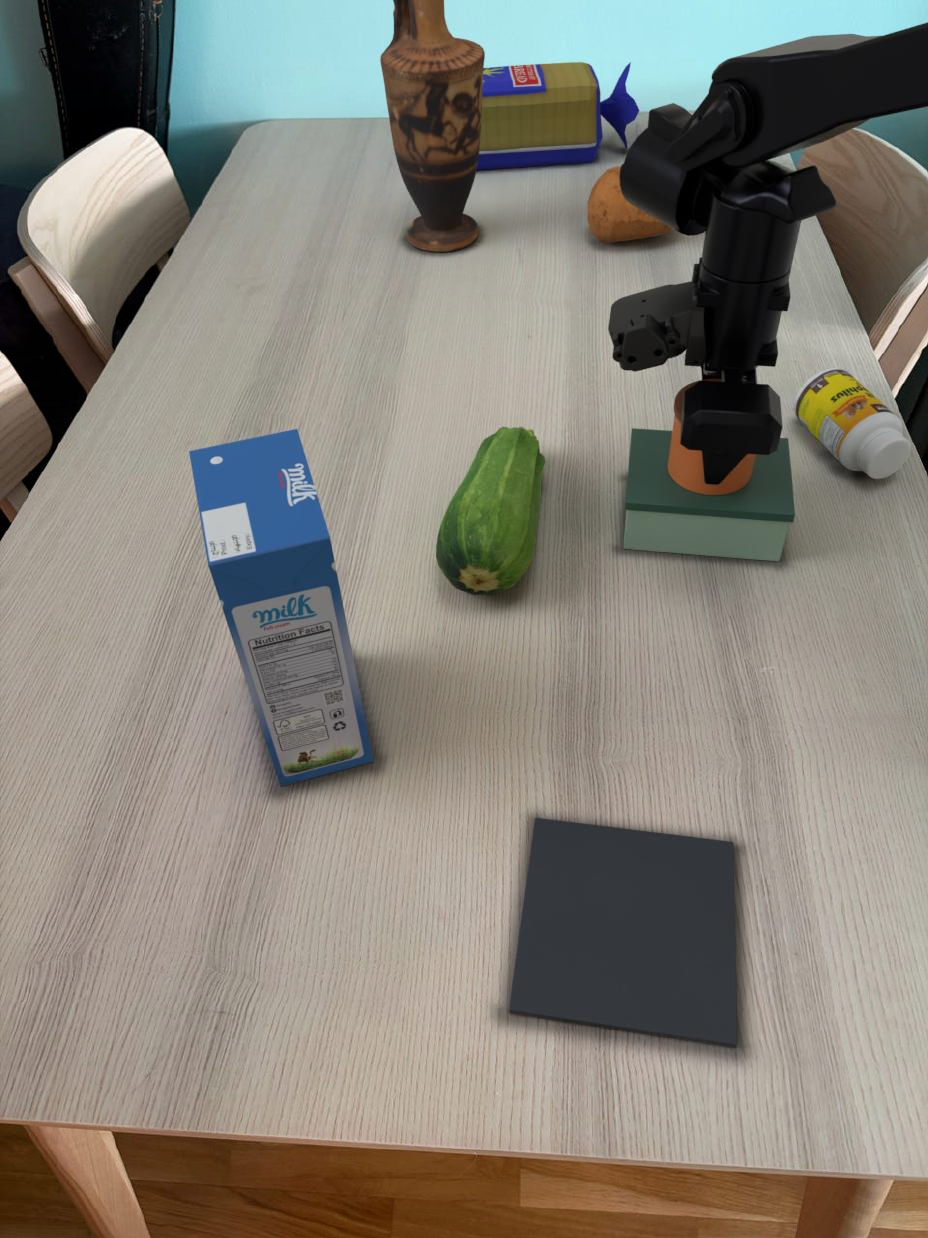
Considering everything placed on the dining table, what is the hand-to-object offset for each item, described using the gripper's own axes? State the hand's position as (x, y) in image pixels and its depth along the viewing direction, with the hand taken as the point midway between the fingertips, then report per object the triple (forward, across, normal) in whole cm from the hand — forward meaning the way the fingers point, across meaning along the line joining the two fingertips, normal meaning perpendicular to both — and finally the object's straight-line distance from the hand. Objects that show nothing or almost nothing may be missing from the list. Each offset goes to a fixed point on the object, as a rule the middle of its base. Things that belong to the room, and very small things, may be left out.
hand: (711, 455), depth 75 cm
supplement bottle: (+4, -15, +10) cm, 18 cm away
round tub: (+1, 0, 0) cm, 1 cm away
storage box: (+6, 0, 0) cm, 6 cm away
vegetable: (+6, +3, -16) cm, 18 cm away
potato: (+7, -49, -8) cm, 50 cm away
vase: (+6, -47, -30) cm, 56 cm away
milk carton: (+6, +24, -26) cm, 36 cm away
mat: (+6, +36, -4) cm, 37 cm away
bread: (+7, -71, -22) cm, 75 cm away
